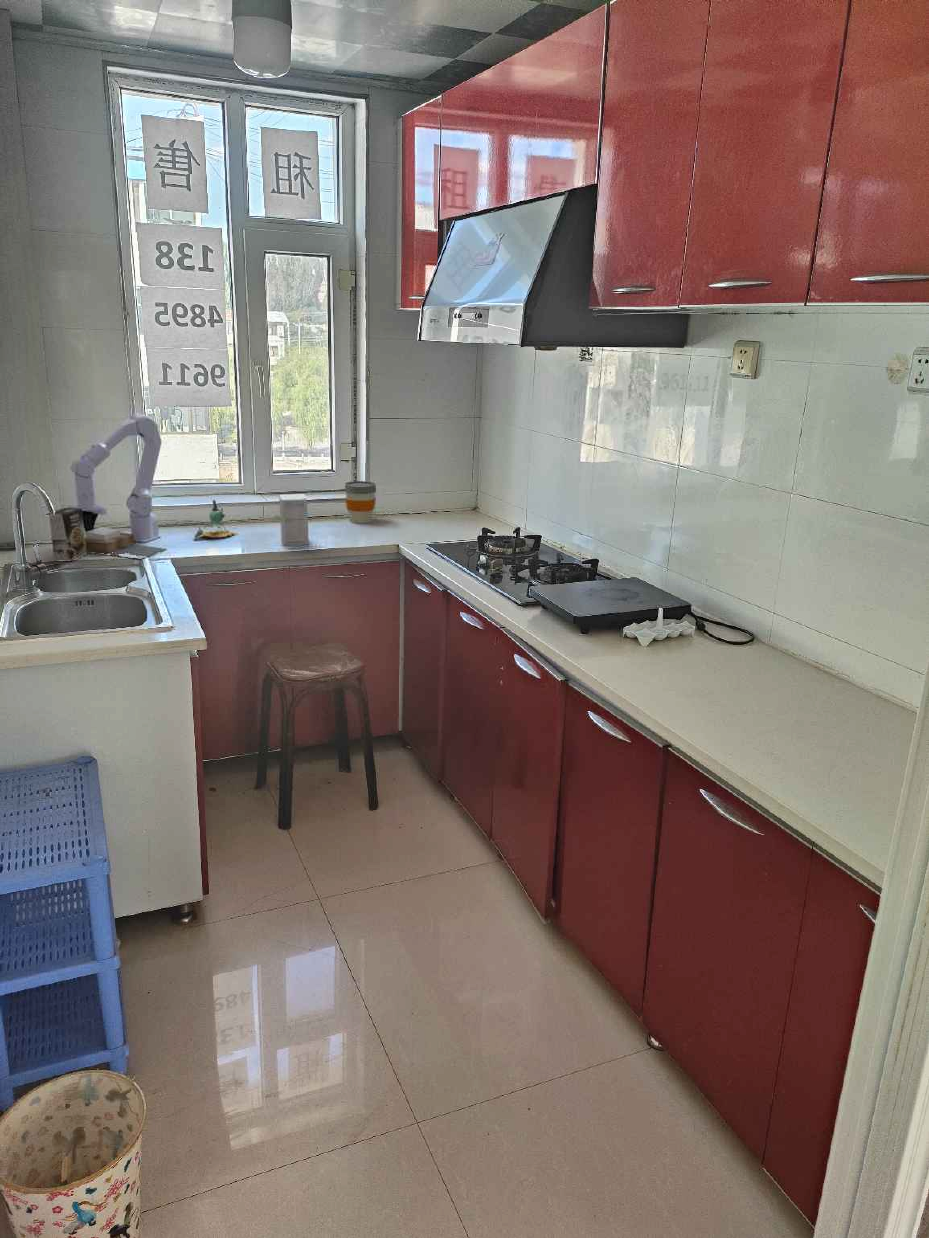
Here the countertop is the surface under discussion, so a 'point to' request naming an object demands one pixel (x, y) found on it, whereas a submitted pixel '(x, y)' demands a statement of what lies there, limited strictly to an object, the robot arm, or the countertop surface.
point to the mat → (139, 550)
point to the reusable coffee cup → (360, 501)
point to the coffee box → (68, 534)
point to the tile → (103, 533)
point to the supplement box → (294, 519)
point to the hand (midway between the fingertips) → (89, 532)
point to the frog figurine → (215, 518)
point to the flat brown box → (109, 544)
